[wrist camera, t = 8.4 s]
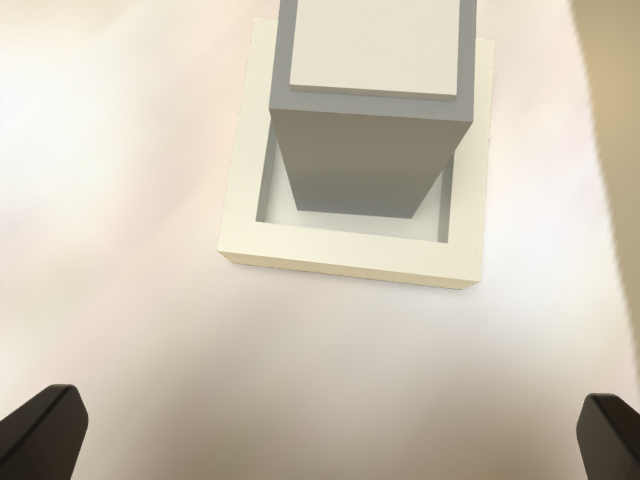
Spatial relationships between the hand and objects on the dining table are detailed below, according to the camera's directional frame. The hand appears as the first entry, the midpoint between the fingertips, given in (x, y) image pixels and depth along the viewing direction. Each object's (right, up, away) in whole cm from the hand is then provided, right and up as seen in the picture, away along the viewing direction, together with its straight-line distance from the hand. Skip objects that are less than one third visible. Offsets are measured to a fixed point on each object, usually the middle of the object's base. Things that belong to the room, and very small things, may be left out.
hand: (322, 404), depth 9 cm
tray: (+1, +6, +12) cm, 14 cm away
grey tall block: (+1, +6, +11) cm, 13 cm away
